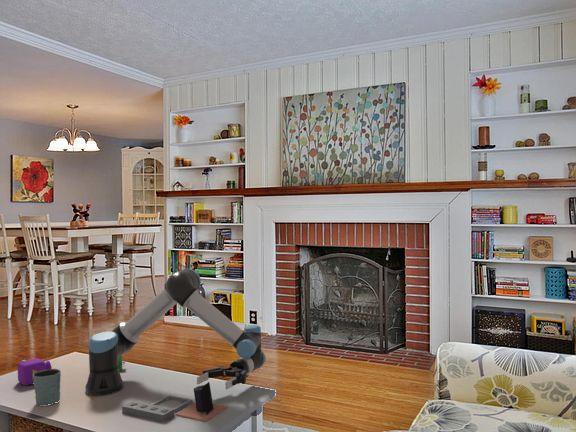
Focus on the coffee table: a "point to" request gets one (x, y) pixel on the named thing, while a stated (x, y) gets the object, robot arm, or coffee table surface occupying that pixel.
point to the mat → (194, 414)
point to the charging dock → (154, 408)
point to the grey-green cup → (47, 386)
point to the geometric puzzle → (120, 363)
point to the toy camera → (31, 369)
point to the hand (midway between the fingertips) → (211, 383)
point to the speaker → (203, 398)
